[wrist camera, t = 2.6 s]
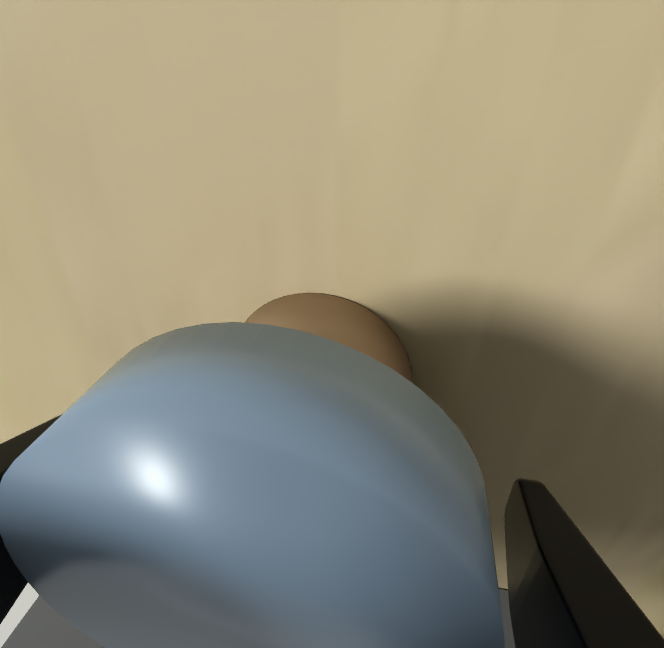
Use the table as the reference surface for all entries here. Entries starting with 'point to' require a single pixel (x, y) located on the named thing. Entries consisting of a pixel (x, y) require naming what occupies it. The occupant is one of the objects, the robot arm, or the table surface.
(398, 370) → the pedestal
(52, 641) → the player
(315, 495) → the disc
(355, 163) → the table surface
